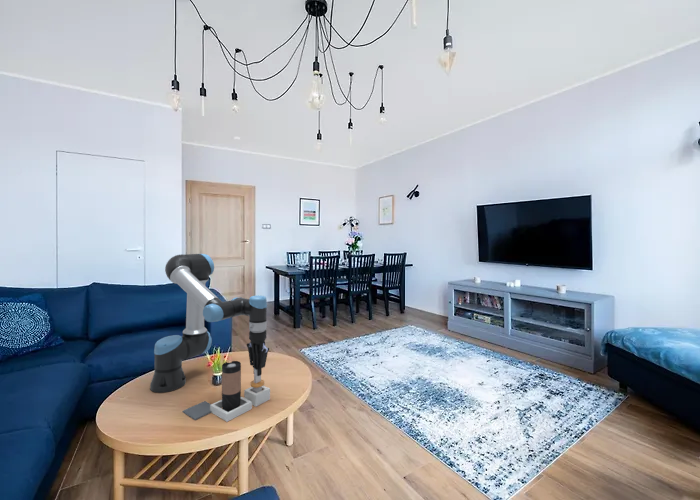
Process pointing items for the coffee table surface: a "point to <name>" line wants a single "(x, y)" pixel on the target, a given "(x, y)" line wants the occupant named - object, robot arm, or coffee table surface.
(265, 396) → the housing
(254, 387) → the tan and grey knob
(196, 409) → the mat
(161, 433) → the coffee table surface
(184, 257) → the robot arm
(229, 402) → the travel mug
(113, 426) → the coffee table surface
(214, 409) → the socket collar
